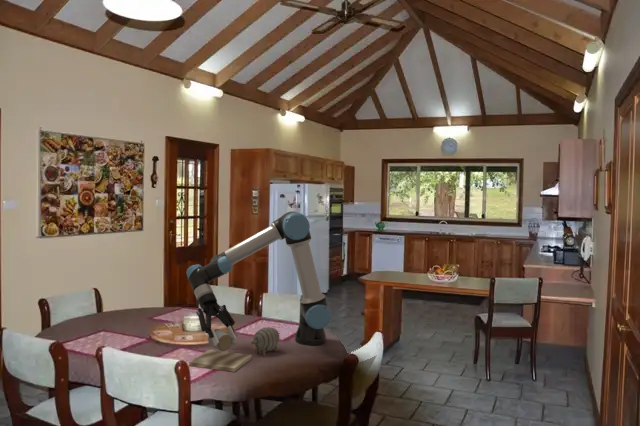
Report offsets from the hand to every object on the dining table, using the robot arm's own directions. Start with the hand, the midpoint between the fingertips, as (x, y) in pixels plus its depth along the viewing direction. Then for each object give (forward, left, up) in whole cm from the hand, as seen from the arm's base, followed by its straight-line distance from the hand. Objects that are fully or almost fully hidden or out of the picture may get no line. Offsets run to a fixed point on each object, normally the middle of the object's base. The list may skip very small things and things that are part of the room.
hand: (225, 342), depth 223 cm
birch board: (+3, -2, -9) cm, 10 cm away
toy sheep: (-9, -22, -9) cm, 26 cm away
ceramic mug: (+3, -3, -4) cm, 5 cm away
